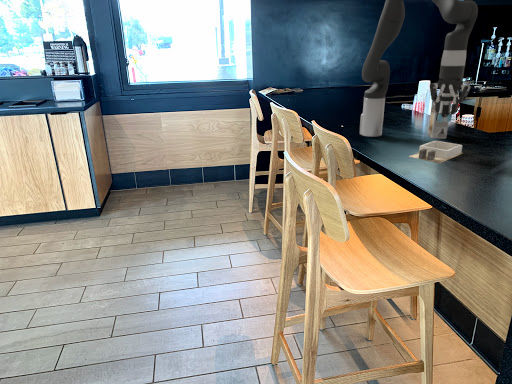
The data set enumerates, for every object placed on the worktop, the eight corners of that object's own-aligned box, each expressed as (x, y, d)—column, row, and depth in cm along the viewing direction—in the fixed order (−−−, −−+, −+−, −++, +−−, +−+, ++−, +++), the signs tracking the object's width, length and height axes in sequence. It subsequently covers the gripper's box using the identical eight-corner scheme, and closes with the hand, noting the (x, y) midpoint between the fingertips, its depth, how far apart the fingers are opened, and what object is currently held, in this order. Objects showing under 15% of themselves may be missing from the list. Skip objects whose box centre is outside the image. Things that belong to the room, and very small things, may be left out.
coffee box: (427, 134, 180) (431, 99, 174) (441, 134, 179) (447, 99, 173) (431, 138, 171) (436, 102, 166) (446, 138, 170) (452, 102, 164)
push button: (451, 119, 143) (456, 92, 139) (457, 122, 138) (462, 94, 134) (433, 119, 143) (437, 92, 139) (438, 122, 138) (442, 94, 135)
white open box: (418, 153, 146) (419, 145, 145) (433, 147, 153) (434, 140, 151) (446, 159, 138) (447, 151, 137) (461, 152, 145) (462, 145, 144)
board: (407, 159, 143) (409, 148, 142) (431, 150, 154) (433, 140, 152) (439, 166, 134) (441, 154, 133) (462, 156, 145) (464, 145, 143)
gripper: (479, 64, 131) (470, 114, 137) (438, 63, 141) (431, 110, 147) (469, 65, 126) (460, 117, 133) (427, 64, 137) (421, 112, 143)
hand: (445, 113), depth 140 cm, fingers closed on push button, 4 cm apart
